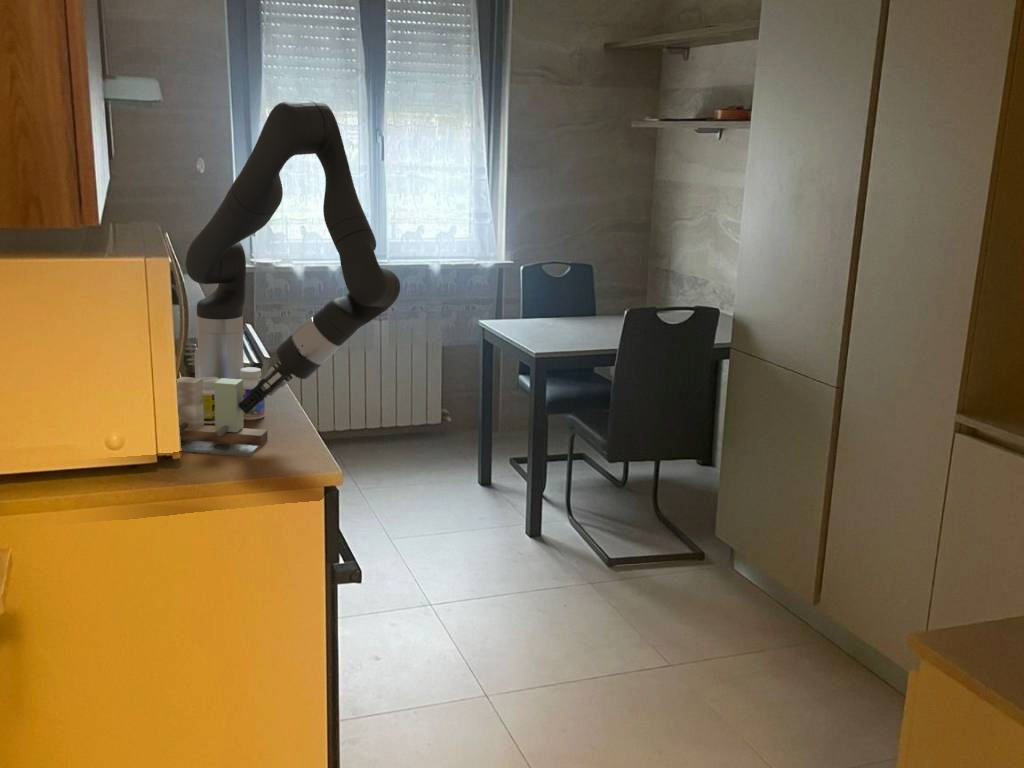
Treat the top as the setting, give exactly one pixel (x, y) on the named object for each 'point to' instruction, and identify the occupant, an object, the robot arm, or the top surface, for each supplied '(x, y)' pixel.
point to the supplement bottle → (209, 399)
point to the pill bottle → (250, 382)
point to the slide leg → (228, 405)
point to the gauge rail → (227, 437)
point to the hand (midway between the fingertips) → (243, 408)
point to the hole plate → (218, 447)
